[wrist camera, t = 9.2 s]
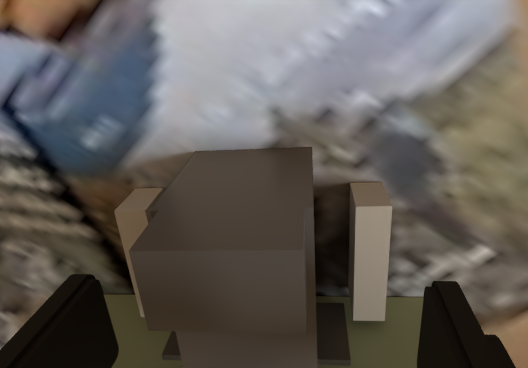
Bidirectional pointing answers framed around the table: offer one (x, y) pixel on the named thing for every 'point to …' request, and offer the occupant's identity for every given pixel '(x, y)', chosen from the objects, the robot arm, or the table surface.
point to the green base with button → (327, 308)
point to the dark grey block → (234, 260)
